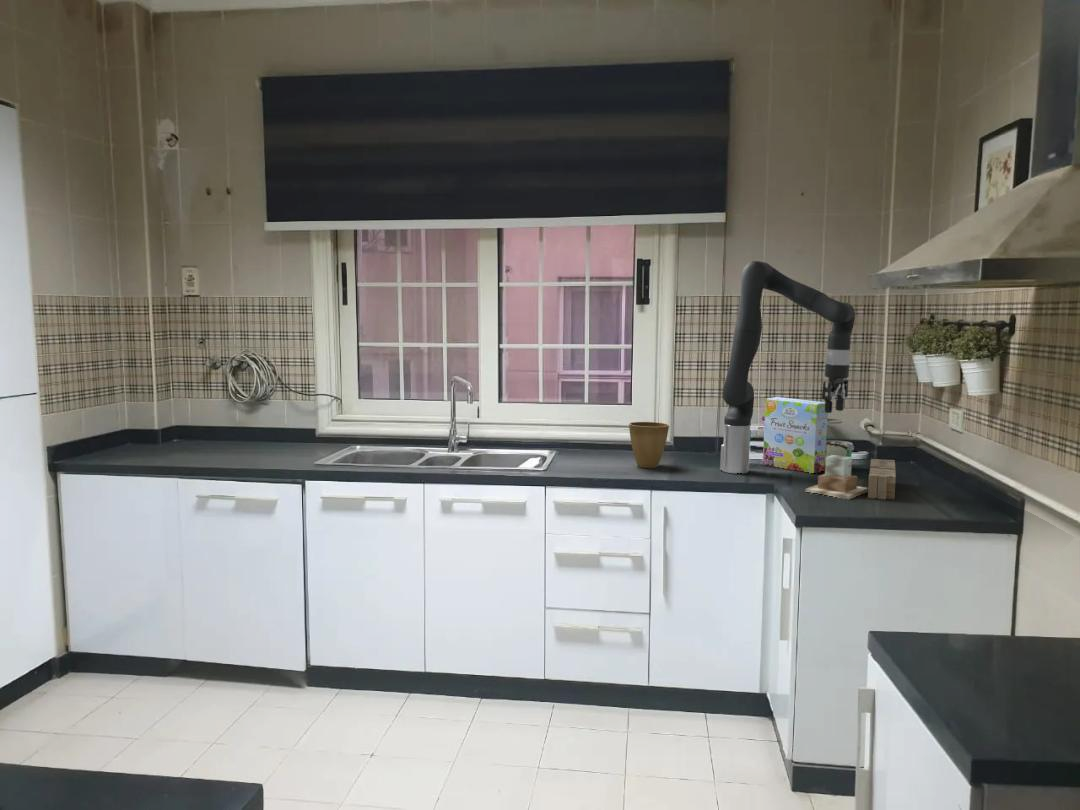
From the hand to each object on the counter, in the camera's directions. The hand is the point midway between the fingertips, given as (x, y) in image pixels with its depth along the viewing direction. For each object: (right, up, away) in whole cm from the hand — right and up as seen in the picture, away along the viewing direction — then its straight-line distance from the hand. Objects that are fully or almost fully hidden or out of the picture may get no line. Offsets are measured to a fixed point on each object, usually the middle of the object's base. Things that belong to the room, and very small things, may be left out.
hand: (833, 411), depth 262 cm
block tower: (+14, -26, -5) cm, 30 cm away
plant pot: (-58, -21, +31) cm, 69 cm away
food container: (+14, -22, +30) cm, 40 cm away
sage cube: (-2, -21, -9) cm, 23 cm away
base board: (-2, -26, -9) cm, 27 cm away
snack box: (-4, -22, +30) cm, 37 cm away
